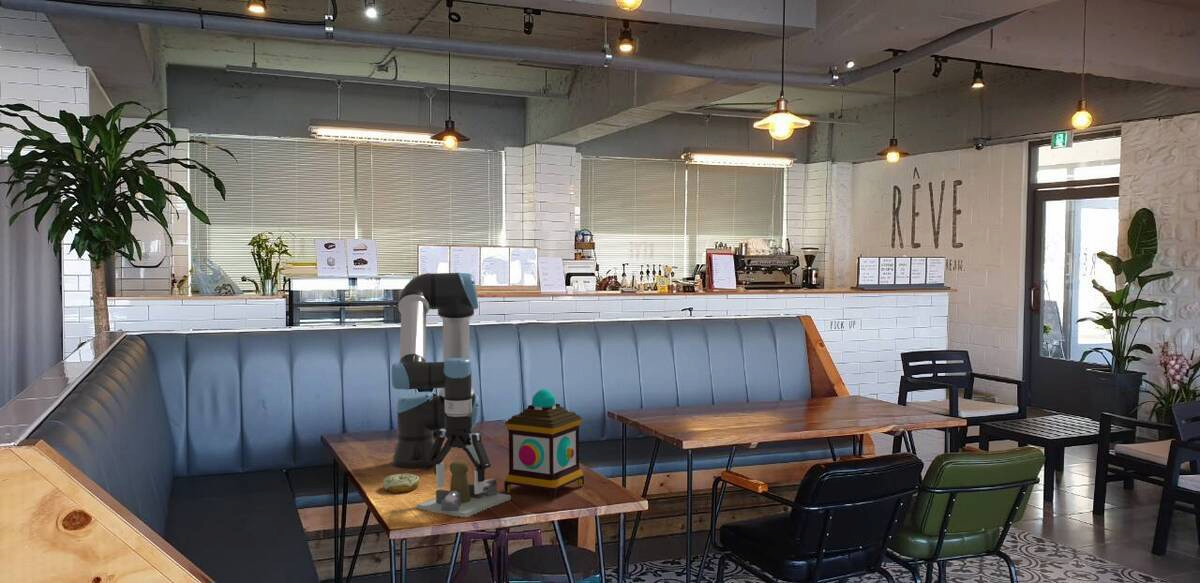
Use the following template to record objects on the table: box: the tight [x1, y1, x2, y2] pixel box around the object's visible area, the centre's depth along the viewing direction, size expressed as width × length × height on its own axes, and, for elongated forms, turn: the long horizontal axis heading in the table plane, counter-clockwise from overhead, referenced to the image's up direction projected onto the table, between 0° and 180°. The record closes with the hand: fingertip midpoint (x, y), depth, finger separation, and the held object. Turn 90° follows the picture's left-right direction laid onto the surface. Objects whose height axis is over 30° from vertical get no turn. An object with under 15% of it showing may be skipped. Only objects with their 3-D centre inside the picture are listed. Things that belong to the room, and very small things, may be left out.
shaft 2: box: [482, 477, 498, 497], centre depth 252 cm, size 6×4×4 cm
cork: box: [449, 459, 471, 503], centre depth 246 cm, size 6×6×11 cm
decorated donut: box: [382, 473, 420, 494], centre depth 263 cm, size 10×11×4 cm
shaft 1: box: [441, 491, 461, 511], centre depth 238 cm, size 5×4×4 cm
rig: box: [416, 482, 512, 518], centre depth 247 cm, size 17×20×5 cm
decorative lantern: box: [503, 388, 585, 500], centre depth 261 cm, size 20×20×30 cm
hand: (459, 489), depth 246 cm, fingers open, 13 cm apart
